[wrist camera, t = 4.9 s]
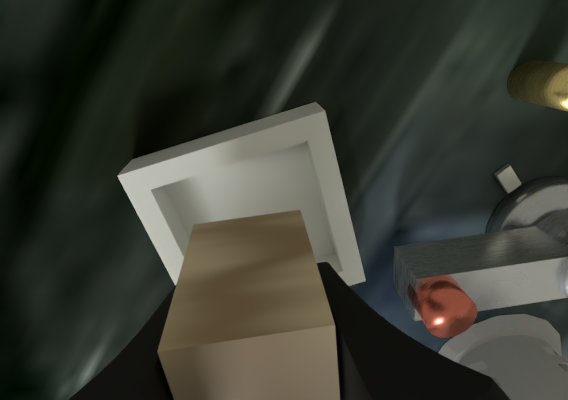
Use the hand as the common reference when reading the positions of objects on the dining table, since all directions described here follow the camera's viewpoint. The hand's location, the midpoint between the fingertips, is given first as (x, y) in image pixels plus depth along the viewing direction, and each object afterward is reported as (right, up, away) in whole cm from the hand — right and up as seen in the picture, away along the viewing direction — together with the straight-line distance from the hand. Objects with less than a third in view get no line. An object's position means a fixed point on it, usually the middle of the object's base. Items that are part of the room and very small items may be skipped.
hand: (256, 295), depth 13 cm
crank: (+12, +1, +6) cm, 14 cm away
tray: (-1, +3, +6) cm, 7 cm away
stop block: (0, +1, +2) cm, 2 cm away
